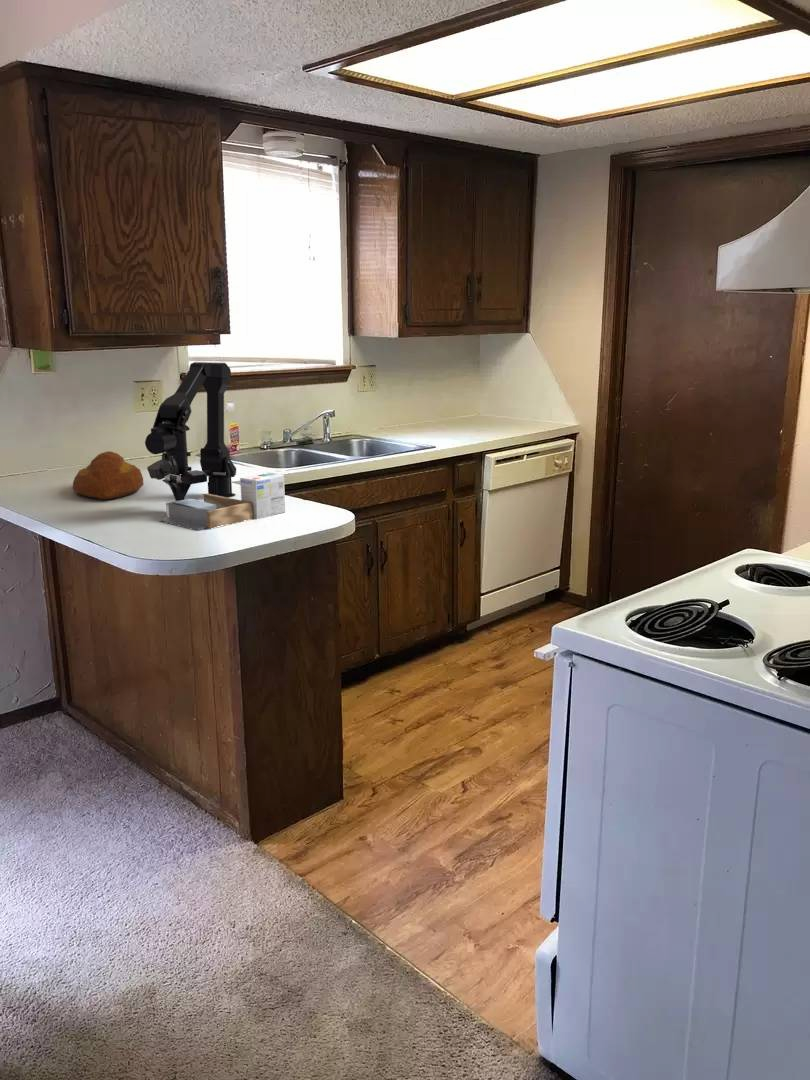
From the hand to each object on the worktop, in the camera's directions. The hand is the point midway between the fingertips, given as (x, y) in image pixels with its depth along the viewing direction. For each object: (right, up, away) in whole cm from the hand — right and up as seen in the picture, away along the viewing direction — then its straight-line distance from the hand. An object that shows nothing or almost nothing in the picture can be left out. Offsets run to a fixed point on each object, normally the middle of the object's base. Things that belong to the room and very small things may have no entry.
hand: (179, 504), depth 238 cm
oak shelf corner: (+10, -4, -7) cm, 13 cm away
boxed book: (+5, -4, -5) cm, 8 cm away
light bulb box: (+24, -3, -2) cm, 24 cm away
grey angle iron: (+5, -6, -13) cm, 15 cm away
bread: (-29, +5, +28) cm, 41 cm away
